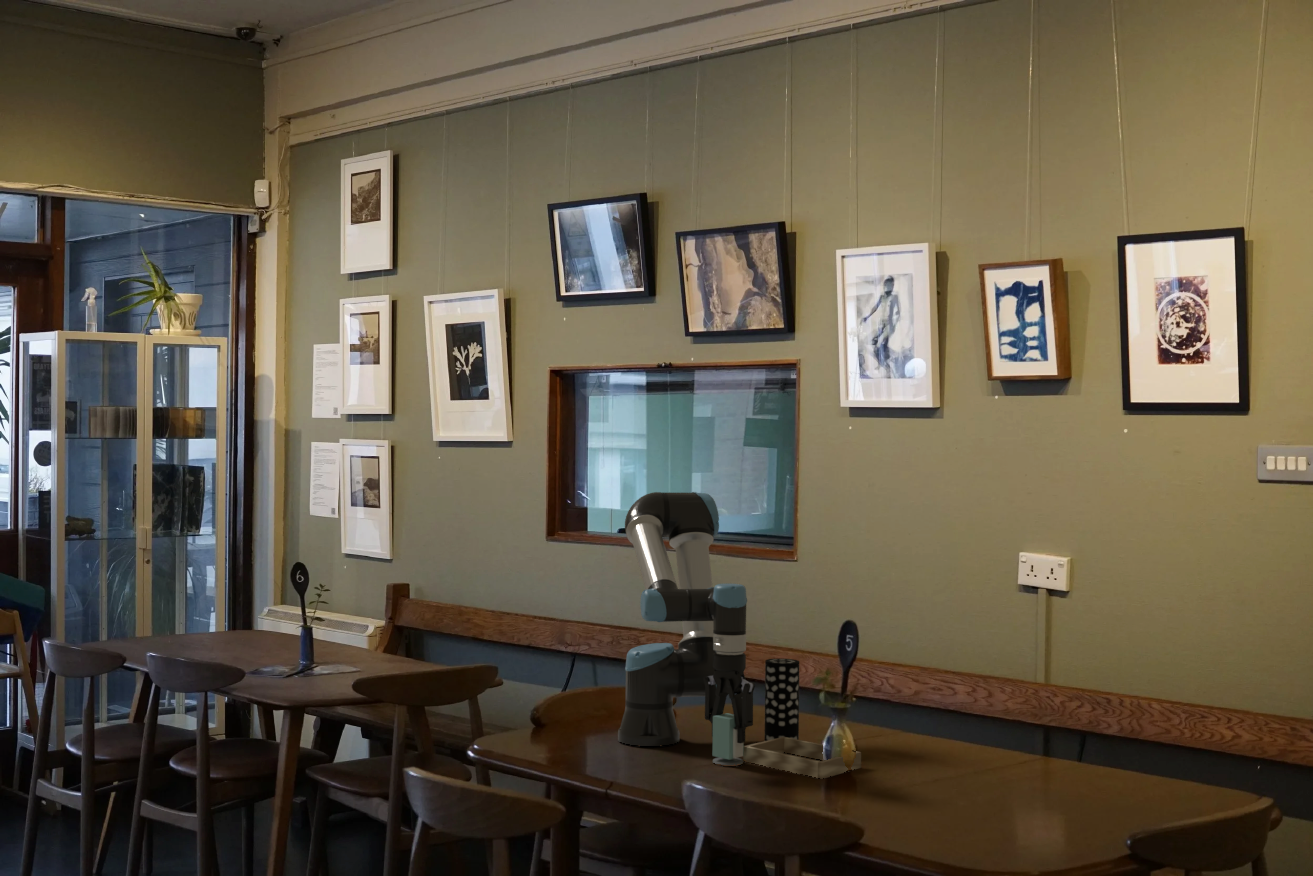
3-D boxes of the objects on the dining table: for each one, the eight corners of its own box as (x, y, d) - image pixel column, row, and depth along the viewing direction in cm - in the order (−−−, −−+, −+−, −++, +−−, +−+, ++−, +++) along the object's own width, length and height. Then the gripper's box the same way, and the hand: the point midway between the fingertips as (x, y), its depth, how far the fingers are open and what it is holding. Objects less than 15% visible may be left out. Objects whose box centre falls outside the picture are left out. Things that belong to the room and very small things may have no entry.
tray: (743, 761, 285) (743, 746, 285) (783, 751, 296) (783, 736, 296) (821, 779, 270) (821, 763, 270) (860, 767, 281) (861, 752, 281)
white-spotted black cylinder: (798, 740, 309) (799, 659, 310) (798, 747, 301) (799, 664, 301) (764, 738, 310) (765, 658, 310) (764, 746, 302) (765, 663, 302)
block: (712, 756, 284) (712, 716, 284) (726, 752, 287) (727, 713, 288) (729, 759, 280) (729, 719, 280) (743, 756, 284) (743, 716, 284)
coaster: (706, 763, 284) (706, 760, 284) (726, 758, 289) (726, 755, 289) (729, 768, 279) (730, 765, 279) (749, 763, 284) (749, 760, 284)
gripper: (689, 649, 288) (687, 750, 287) (749, 658, 275) (748, 764, 275) (710, 646, 293) (709, 745, 293) (770, 655, 281) (769, 759, 280)
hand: (728, 754), depth 284 cm, fingers closed on block, 5 cm apart
